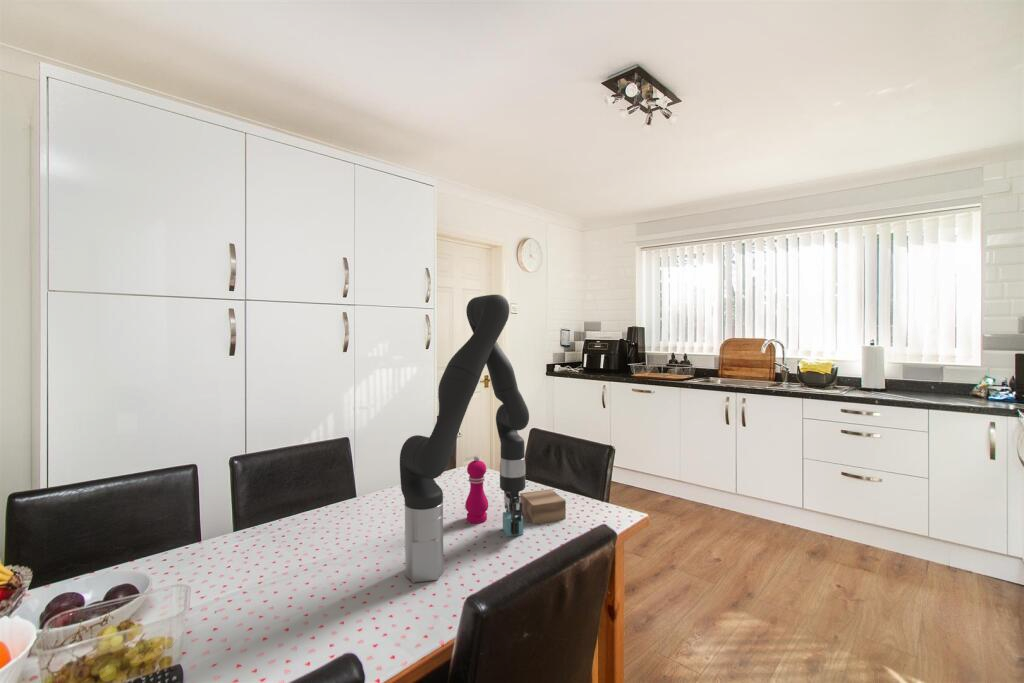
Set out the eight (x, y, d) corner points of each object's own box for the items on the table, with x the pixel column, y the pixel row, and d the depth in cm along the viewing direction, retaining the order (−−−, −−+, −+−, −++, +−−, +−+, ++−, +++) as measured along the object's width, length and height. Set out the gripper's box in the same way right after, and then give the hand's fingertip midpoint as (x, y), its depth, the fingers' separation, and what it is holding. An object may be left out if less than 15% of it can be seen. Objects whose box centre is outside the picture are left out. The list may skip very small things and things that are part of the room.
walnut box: (565, 519, 145) (565, 500, 144) (533, 524, 141) (533, 505, 141) (550, 506, 155) (550, 489, 155) (520, 511, 151) (520, 493, 151)
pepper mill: (490, 515, 148) (489, 453, 147) (486, 524, 140) (486, 459, 140) (467, 514, 148) (467, 452, 148) (463, 523, 141) (462, 458, 140)
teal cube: (523, 534, 134) (523, 517, 133) (506, 536, 132) (506, 519, 132) (519, 527, 138) (519, 510, 138) (502, 529, 137) (502, 512, 137)
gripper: (531, 479, 129) (531, 539, 129) (519, 464, 143) (519, 518, 143) (505, 481, 127) (505, 542, 128) (495, 466, 141) (495, 520, 142)
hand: (512, 529), depth 135 cm, fingers closed on teal cube, 5 cm apart
